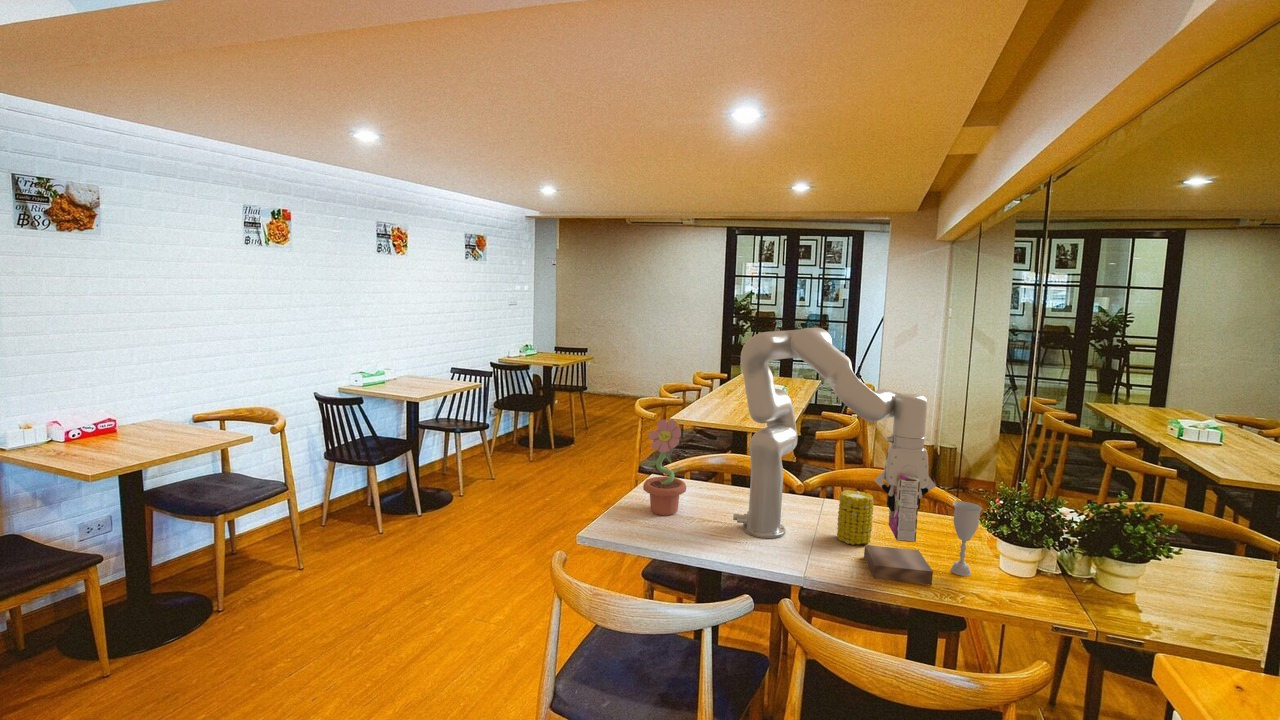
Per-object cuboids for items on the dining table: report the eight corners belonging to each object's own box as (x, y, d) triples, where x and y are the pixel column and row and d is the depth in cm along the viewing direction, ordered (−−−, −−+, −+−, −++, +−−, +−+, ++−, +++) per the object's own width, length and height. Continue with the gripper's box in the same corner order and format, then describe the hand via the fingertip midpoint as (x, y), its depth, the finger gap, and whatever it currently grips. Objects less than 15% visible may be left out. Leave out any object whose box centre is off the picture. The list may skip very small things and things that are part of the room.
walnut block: (873, 580, 159) (874, 565, 159) (863, 558, 172) (864, 544, 171) (931, 586, 157) (933, 571, 157) (917, 564, 170) (918, 550, 169)
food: (836, 549, 181) (840, 538, 190) (879, 547, 176) (881, 536, 185) (828, 496, 181) (832, 488, 190) (871, 494, 176) (872, 485, 185)
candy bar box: (886, 525, 169) (891, 466, 167) (906, 526, 168) (911, 467, 166) (895, 541, 158) (900, 478, 156) (916, 543, 157) (921, 479, 155)
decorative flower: (631, 511, 200) (634, 420, 196) (654, 500, 211) (658, 413, 208) (670, 523, 192) (674, 427, 188) (693, 510, 203) (697, 420, 199)
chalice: (974, 580, 160) (981, 513, 158) (945, 573, 164) (951, 507, 162) (976, 570, 166) (983, 505, 164) (948, 563, 170) (954, 499, 168)
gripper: (876, 443, 158) (871, 512, 160) (947, 448, 155) (942, 518, 157) (870, 436, 165) (865, 503, 167) (938, 441, 163) (933, 508, 165)
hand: (902, 509), depth 162 cm, fingers closed on candy bar box, 5 cm apart
